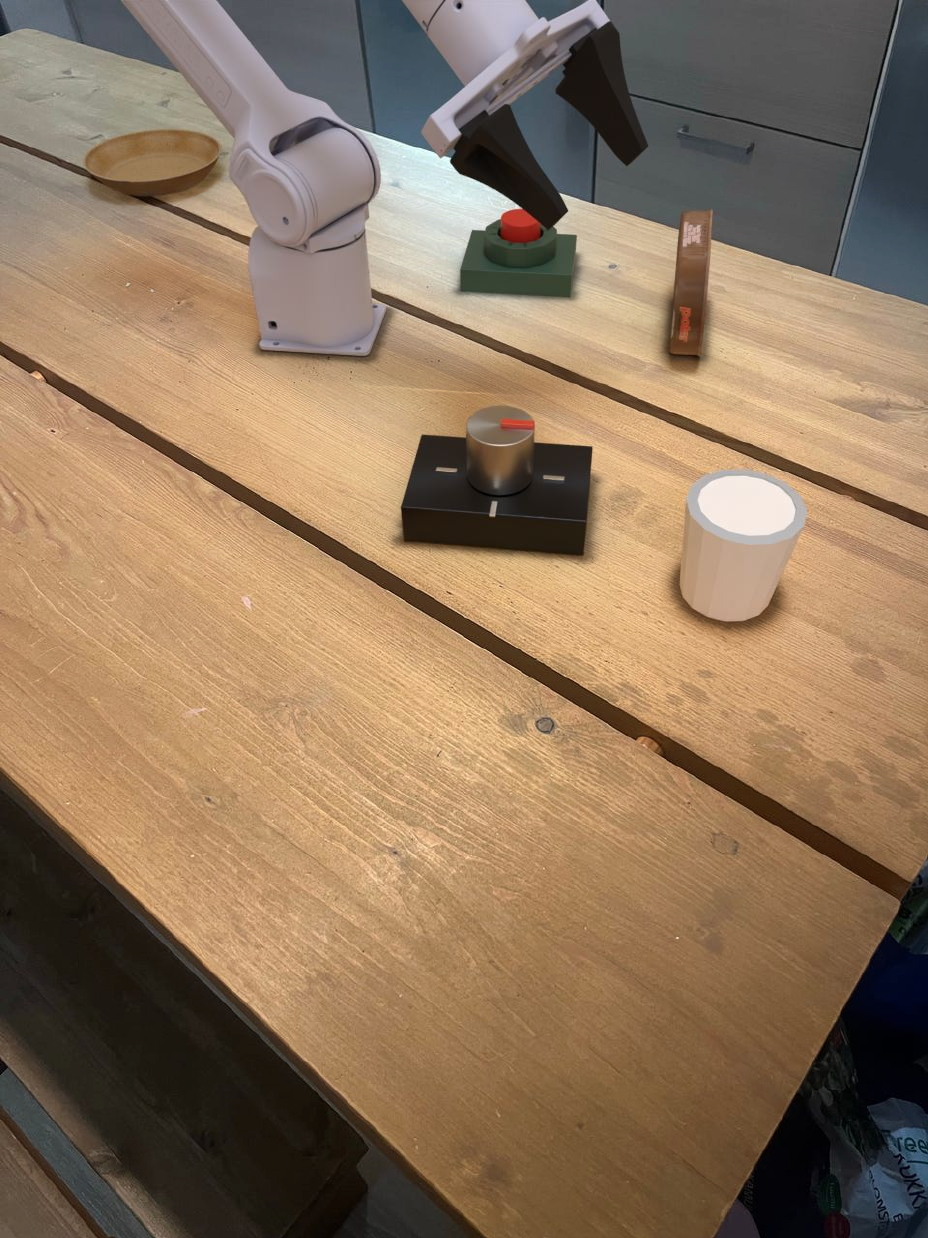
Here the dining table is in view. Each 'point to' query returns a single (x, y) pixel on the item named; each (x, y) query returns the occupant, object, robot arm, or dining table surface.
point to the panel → (498, 501)
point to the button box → (518, 263)
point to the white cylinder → (737, 541)
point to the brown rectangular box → (691, 282)
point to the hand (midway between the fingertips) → (598, 188)
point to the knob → (500, 449)
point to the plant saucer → (153, 161)
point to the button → (519, 227)
